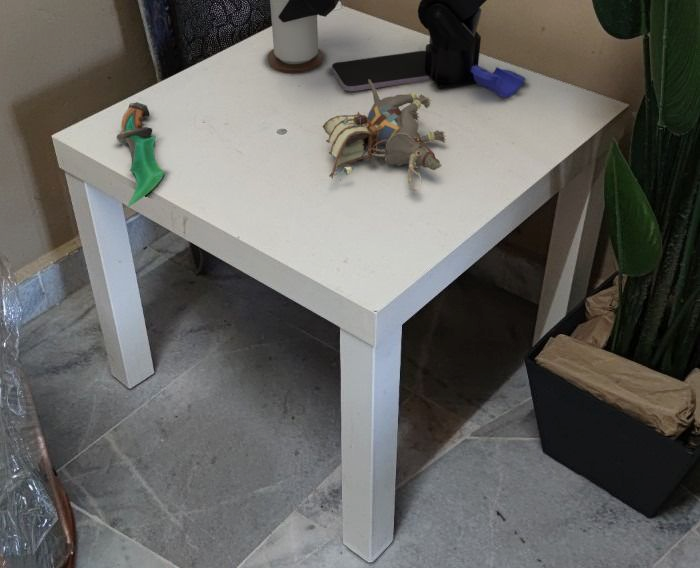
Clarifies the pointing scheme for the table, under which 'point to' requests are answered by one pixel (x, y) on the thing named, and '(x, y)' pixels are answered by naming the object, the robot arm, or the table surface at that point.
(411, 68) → the smartphone
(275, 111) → the table surface
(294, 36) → the beverage can
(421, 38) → the table surface
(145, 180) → the knife
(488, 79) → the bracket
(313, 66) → the coaster
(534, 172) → the table surface
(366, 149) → the figurine
